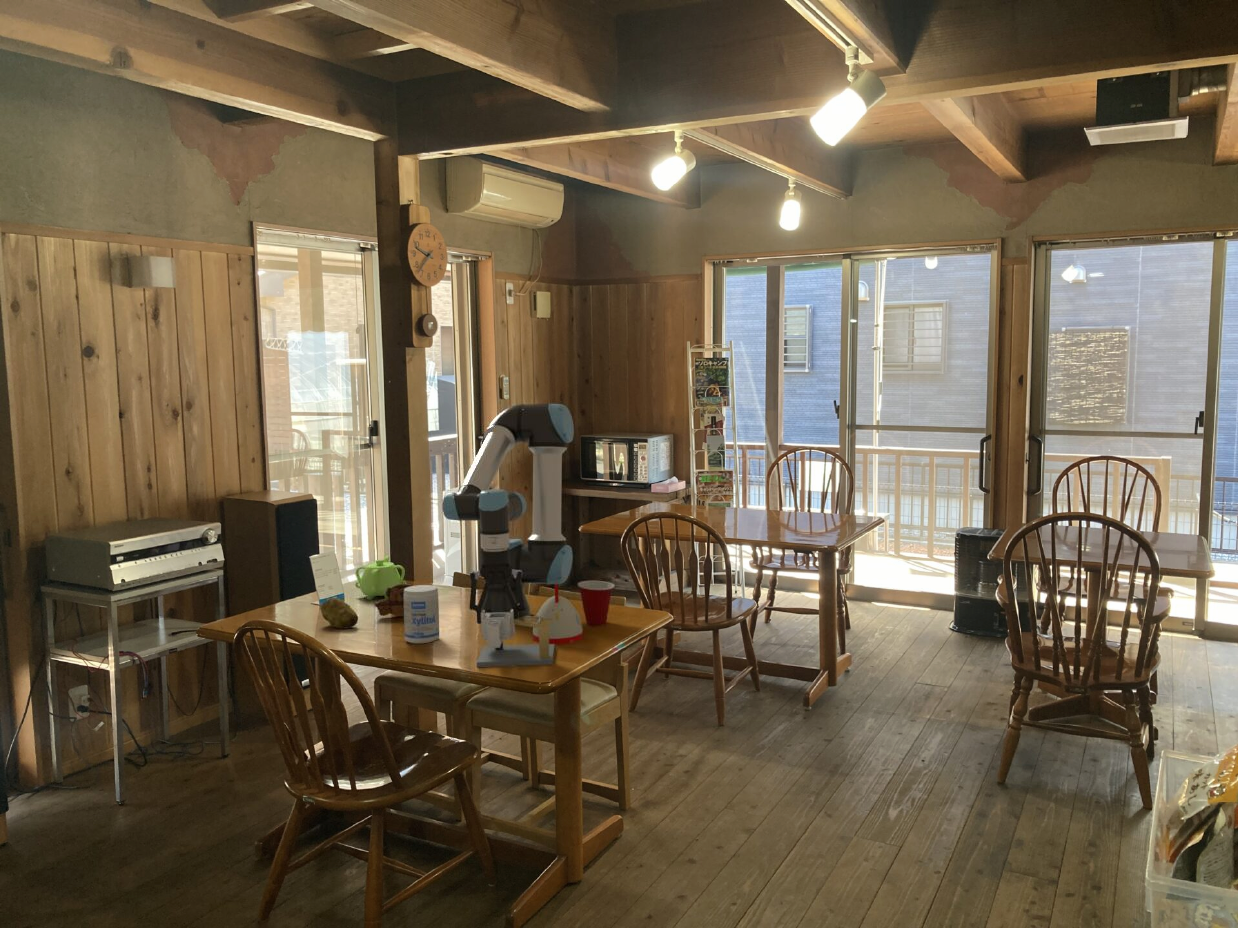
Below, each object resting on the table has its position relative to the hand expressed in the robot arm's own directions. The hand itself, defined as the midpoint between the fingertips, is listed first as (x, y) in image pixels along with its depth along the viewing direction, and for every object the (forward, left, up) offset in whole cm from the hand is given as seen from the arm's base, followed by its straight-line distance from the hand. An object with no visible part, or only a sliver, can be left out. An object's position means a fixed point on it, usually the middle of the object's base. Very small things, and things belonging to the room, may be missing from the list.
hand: (498, 634), depth 252 cm
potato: (-34, -51, -5) cm, 61 cm away
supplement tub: (-16, -23, -5) cm, 29 cm away
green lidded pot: (-74, -47, -5) cm, 88 cm away
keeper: (+7, +10, -4) cm, 13 cm away
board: (+4, +5, -5) cm, 8 cm away
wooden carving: (-44, -34, -5) cm, 56 cm away
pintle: (0, 0, -4) cm, 4 cm away
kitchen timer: (-14, +15, -5) cm, 21 cm away
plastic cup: (-28, +26, -5) cm, 39 cm away
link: (+4, 0, 0) cm, 4 cm away
